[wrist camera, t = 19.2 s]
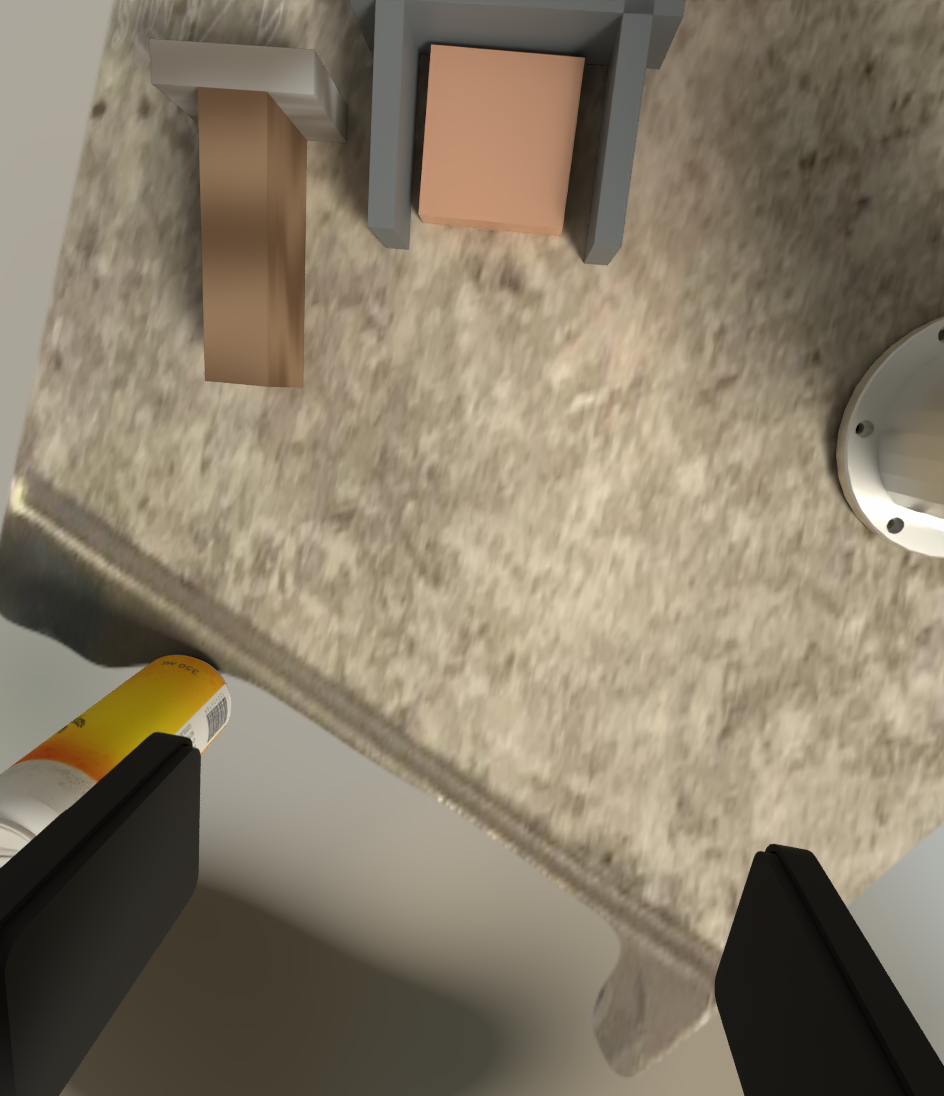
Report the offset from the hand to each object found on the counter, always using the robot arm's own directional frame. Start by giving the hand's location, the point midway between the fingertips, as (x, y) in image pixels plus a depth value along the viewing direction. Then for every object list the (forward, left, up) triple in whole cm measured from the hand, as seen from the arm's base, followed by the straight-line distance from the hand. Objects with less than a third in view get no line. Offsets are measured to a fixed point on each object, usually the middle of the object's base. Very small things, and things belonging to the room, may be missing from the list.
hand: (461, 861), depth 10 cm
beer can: (+19, +13, -25) cm, 34 cm away
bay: (+2, -19, -25) cm, 32 cm away
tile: (+2, -19, -26) cm, 32 cm away
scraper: (+13, -13, -25) cm, 31 cm away
